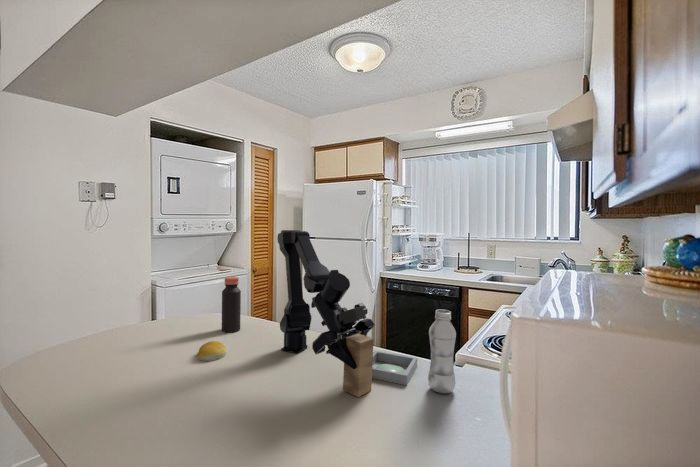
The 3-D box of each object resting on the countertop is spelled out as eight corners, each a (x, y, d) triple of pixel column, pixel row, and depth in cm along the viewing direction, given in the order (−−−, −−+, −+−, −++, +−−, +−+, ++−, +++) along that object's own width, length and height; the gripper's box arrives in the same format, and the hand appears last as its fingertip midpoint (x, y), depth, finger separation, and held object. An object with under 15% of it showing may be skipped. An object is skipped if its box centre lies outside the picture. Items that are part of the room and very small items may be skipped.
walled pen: (359, 375, 92) (360, 366, 92) (375, 358, 104) (375, 350, 104) (406, 385, 87) (407, 375, 87) (417, 366, 99) (417, 357, 99)
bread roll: (195, 363, 99) (195, 349, 98) (200, 352, 107) (200, 339, 107) (225, 360, 101) (225, 347, 101) (227, 349, 109) (227, 337, 109)
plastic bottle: (454, 399, 81) (456, 316, 80) (425, 393, 83) (427, 312, 82) (455, 387, 87) (458, 309, 86) (429, 382, 89) (431, 307, 88)
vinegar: (226, 327, 132) (227, 276, 132) (243, 327, 132) (243, 276, 131) (218, 332, 126) (218, 279, 125) (235, 333, 125) (236, 279, 124)
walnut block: (342, 389, 84) (345, 337, 83) (355, 383, 87) (358, 333, 87) (358, 397, 80) (360, 342, 80) (371, 390, 84) (373, 338, 84)
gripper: (321, 299, 79) (356, 359, 72) (370, 289, 93) (403, 338, 86) (298, 325, 84) (329, 384, 77) (347, 312, 98) (377, 360, 91)
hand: (362, 364), depth 83 cm, fingers closed on walnut block, 5 cm apart
